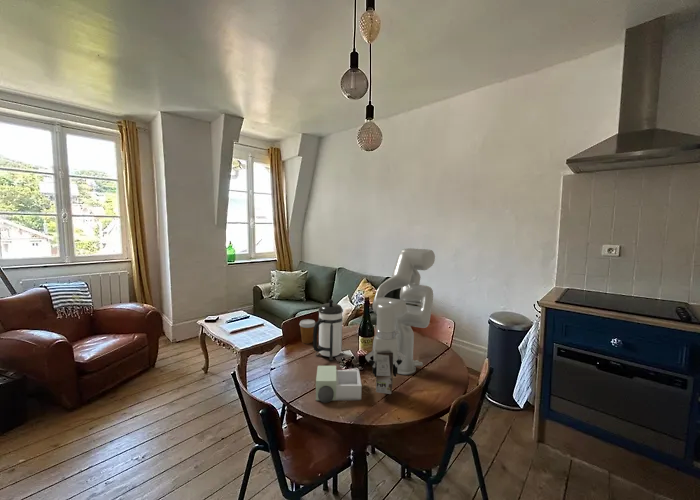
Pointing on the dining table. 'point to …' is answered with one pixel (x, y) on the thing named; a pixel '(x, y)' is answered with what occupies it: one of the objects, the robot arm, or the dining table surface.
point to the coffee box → (384, 373)
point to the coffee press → (328, 330)
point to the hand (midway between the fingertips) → (384, 374)
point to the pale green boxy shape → (337, 384)
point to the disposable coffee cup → (307, 330)
